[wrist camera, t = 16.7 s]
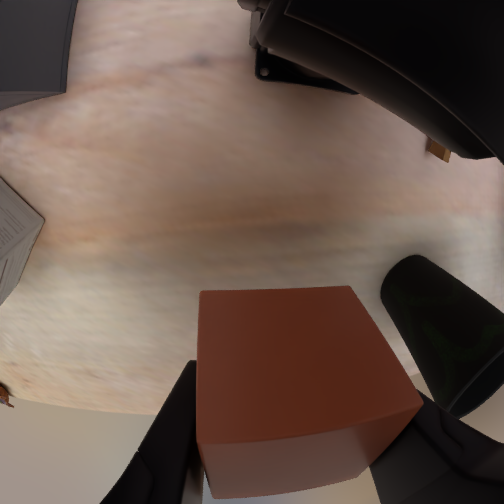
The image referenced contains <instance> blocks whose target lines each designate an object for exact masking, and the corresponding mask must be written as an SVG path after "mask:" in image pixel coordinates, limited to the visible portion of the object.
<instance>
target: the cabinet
mask: <svg viewBox="0 0 504 504" xmlns="http://www.w3.org/2000/svg"><path fill="white" fill-rule="evenodd" d="M76 5H77V0H0V110H3V109H6V108H9V107H12V106H16V105H19V104H22V103H26V102H29V101H33V100H37V99H41V98H44V97H49V96H53V95H57V94H62V93H65V92H66V77H67V65H68V55H69V47H70V39H71V32H72V26H73V20H74V15H75V10H76Z"/></svg>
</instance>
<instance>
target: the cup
mask: <svg viewBox="0 0 504 504" xmlns="http://www.w3.org/2000/svg"><path fill="white" fill-rule="evenodd" d="M381 300H382V303H383V305H384V307H385V308H386V310H387V312H388V313H389V315H390V317H391V319H392V320H393V322H394V324H395V326H396V327H397V329H398V331H399V333H400V335H401V336H402V338H403V340H404V342H405V344H406V346H407V347H408V349H409V351H410V353H411V355H412V357H413V359H414V361H415V363H416V364H417V366H418V368H419V370H420V372H421V374H422V376H423V378H424V380H425V382H426V384H427V386H428V388H429V390H430V393H431V395H432V397H433V399H434V401H435V403H436V404H438V405H439V406H440V407H442V408H443V409H445V410H446V411H447V412H449V413H450V414H452V415H453V416H455V417H456V418H458V419H460V418H462V417H464V416H466V415H467V414H469V413H470V412H472V411H473V410H475V409H476V408H478V407H479V406H480V405H481V404H483V403H484V402H485V401H486V400H487V399H489V398H490V397H491V396H492V395H493V394H494V393H495V392H496V391H497V390H498V389H499V388H500V387H501V386H502V385H503V384H504V313H502V312H501V311H500V310H499V309H497V308H496V307H495V306H493V305H492V304H491V303H489V302H488V301H487V300H485V299H484V298H483V297H481V296H480V295H479V294H477V293H476V292H475V291H473V290H472V289H471V288H469V287H468V286H466V285H465V284H464V283H462V282H461V281H459V280H458V279H456V278H455V277H454V276H452V275H451V274H449V273H448V272H446V271H445V270H443V269H442V268H440V267H439V266H437V265H436V264H434V263H433V262H431V261H430V260H428V259H427V258H425V257H423V256H421V255H413V256H409V257H407V258H405V259H403V260H401V261H400V262H399V263H397V264H396V265H395V266H394V267H393V268H392V269H391V270H390V271H389V273H388V274H387V276H386V277H385V280H384V282H383V284H382V288H381Z"/></svg>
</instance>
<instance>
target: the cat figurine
mask: <svg viewBox="0 0 504 504" xmlns="http://www.w3.org/2000/svg"><path fill="white" fill-rule="evenodd" d="M8 402H9V396H8V393H7V391H6V390H5V389H4V388H2V387H1V386H0V403H3V404H6V405H8V406H10V407H14V406H13V405H11V404H9V403H8Z"/></svg>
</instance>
